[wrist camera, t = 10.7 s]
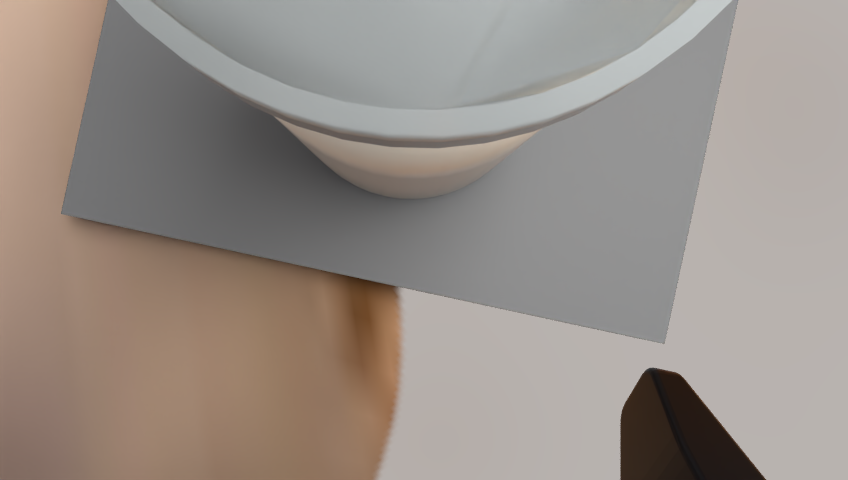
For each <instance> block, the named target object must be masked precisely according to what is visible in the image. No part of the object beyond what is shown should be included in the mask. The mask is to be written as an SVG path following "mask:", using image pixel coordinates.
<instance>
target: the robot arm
mask: <svg viewBox="0 0 848 480" xmlns="http://www.w3.org/2000/svg"><path fill="white" fill-rule="evenodd" d="M621 480H766V479H765V478H764V477H763V475H761V473H760V472H759V471H758V469H757V468H756V467H755V465H754V464H753V463H752V462H751V461H750V460H749V458H748V457H747V456H746V455H745V453H744V452H743V451H742V449H741V448H740V447H739V446H738V444H737V443H736V442H735V441H734V440H733V438H732V437H731V436H730V435H729V434H728V432H727V431H726V430H725V428H724V427H723V426H722V425H721V423H720V422H719V421H718V420H717V419H716V417H715V416H714V415H713V414H712V412H711V411H710V410H709V409H708V407H707V406H706V405H705V404H704V403H703V401H702V400H701V399H700V398H699V396H698V395H697V394H696V393H695V391H694V390H693V389H692V388H691V386H690V385H689V384H688V383H687V382H686V380H685V379H684V378H683V377H682V376H681V375H680V374H678V373H676V372H671V371H666V370H662V369H657V368H649V369H647V370H646V371H645V372H644V373H643V374H642V376H641V378H640V379H639V381H638V382H637V384H636V386H635V388H634V389H633V391H632V393H631V394H630V396H629V398H628V399H627V401H626V402H625V405H624V407H623V410H622V414H621Z"/></svg>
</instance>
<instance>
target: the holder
mask: <svg viewBox="0 0 848 480" xmlns="http://www.w3.org/2000/svg"><path fill="white" fill-rule="evenodd" d="M737 4H738V0H732V1H731V2H730V3H729V4H728V5H727V6H726V7H725V8H724V9H723V10H722V11H721V12H720V13H719V14H718V15H717V16H716V17H715V18H714V19H713V20H711V21H710V22H709V23H708V24H707V25H706V26H705V27H704V28H703V29H702V30H701V31H700V32H699V33H698V34H697V35H696V36H695V37H694V38H693V39H691V40H690V41H689V42H687V43H686V44H685V45H683V46H682V47H681V48H679V49H678V50H676V51H675V52H674V53H672V54H671V55H670V56H668V57H667V58H666V59H664V60H663V61H662V62H660V63H659V64H657V65H656V66H655V67H653V68H652V69H651V70H649V71H648V72H646V73H645V74H644V75H642V76H641V77H639V78H638V79H636V80H635V81H633V82H632V83H630V84H629V85H628V86H626V87H625V88H623V89H622V90H620V91H619V92H617V93H615V94H614V95H612V96H610V97H608V98H606V99H605V100H603V101H601V102H599V103H597V104H595V105H594V106H592V107H590V108H588V109H586V110H585V111H583V112H581V113H579V114H577V115H575V116H572V117H570V118H567V119H565V120H562V121H559V122H557V123H554V124H552V125H549V126H547V127H544V128H542V129H541V130H540V131H538V132H537V133H536V134H535V135H533V136H532V137H531V138H530V139H529V140H527V141H526V142H525V143H524V144H522V145H521V146H520V147H519V148H517V149H516V150H515V151H514V152H512V153H511V154H510V155H509V156H507V157H506V158H505V159H504V160H502V161H501V162H500V163H499V164H498V165H496V166H495V167H494V168H493V169H491V170H490V171H489V172H487V173H486V174H485V175H483V176H482V177H481V178H479V179H478V180H476V181H474V182H473V183H471V184H469V185H467V186H465V187H464V188H461V189H459V190H456V191H453V192H451V193H448V194H444V195H440V196H436V197H432V198H422V199H399V198H392V197H386V196H382V195H378V194H375V193H371V192H368V191H366V190H364V189H361V188H359V187H357V186H355V185H353V184H351V183H350V182H348V181H346V180H345V179H343V178H341V177H340V176H339V175H337V174H336V173H335V172H334V171H332V170H331V169H330V168H329V167H327V166H326V165H325V164H324V163H323V162H322V161H321V160H320V159H319V158H318V157H317V156H316V155H315V154H314V153H313V152H311V151H310V150H309V149H308V148H307V147H306V146H305V145H304V144H303V143H302V142H301V141H300V140H299V139H298V138H297V137H295V136H294V135H293V134H292V133H291V132H290V131H289V130H288V129H287V128H286V127H285V126H284V125H283V124H282V123H281V122H279V121H278V120H277V119H276V118H275V117H274V116H273V115H270V114H268V113H266V112H263V111H261V110H259V109H257V108H254V107H252V106H250V105H249V104H247V103H246V102H244V101H242V100H241V99H239V98H237V97H236V96H234V95H232V94H231V93H229V92H227V91H226V90H224V89H222V88H221V87H219V86H217V85H216V84H214V83H213V82H211V81H209V80H208V79H207V78H206V77H204V76H203V75H202V74H201V73H199V72H198V71H197V70H196V69H194V68H193V67H192V66H191V65H189V64H188V63H187V62H186V61H184V60H183V59H182V58H181V57H179V56H178V55H177V54H176V53H174V52H173V51H172V50H171V49H170V48H168V47H167V46H166V45H165V44H163V43H162V42H161V41H160V40H158V39H157V38H156V37H155V36H153V35H152V34H151V33H150V32H149V31H147V30H146V29H145V28H144V27H142V26H141V25H140V24H139V23H137V22H136V21H135V20H134V19H133V17H132V16H131V15H130V14H129V13H128V12H127V11H126V10H125V9H124V8H123V7H122V6H121V5H120V4H119V3H118V2H117V1H116V0H108V4H107V8H106V13H105V17H104V22H103V26H102V31H101V35H100V40H99V44H98V49H97V53H96V58H95V62H94V67H93V71H92V76H91V80H90V85H89V90H88V94H87V99H86V103H85V108H84V112H83V117H82V121H81V126H80V130H79V135H78V139H77V144H76V148H75V153H74V157H73V162H72V166H71V171H70V175H69V180H68V184H67V189H66V193H65V198H64V202H63V207H62V212H61V214H64V215H68V216H73V217H78V218H82V219H87V220H92V221H96V222H101V223H105V224H110V225H115V226H119V227H124V228H129V229H133V230H138V231H143V232H147V233H152V234H157V235H161V236H166V237H170V238H175V239H180V240H184V241H189V242H194V243H198V244H203V245H208V246H212V247H217V248H222V249H226V250H231V251H235V252H240V253H245V254H249V255H254V256H259V257H263V258H268V259H273V260H277V261H282V262H286V263H291V264H296V265H300V266H305V267H310V268H314V269H319V270H324V271H328V272H333V273H338V274H342V275H347V276H351V277H356V278H361V279H365V280H370V281H375V282H379V283H384V284H389V285H393V286H398V287H403V288H407V289H412V290H416V291H421V292H426V293H430V294H435V295H440V296H444V297H450V298H454V299H458V300H463V301H468V302H472V303H477V304H482V305H486V306H491V307H495V308H500V309H505V310H509V311H514V312H519V313H523V314H528V315H532V316H537V317H542V318H546V319H551V320H556V321H561V322H565V323H570V324H574V325H579V326H584V327H588V328H593V329H597V330H603V331H607V332H612V333H616V334H621V335H625V336H630V337H635V338H639V339H644V340H649V341H653V342H658V343H663V344H664V343H665V339H666V334H667V330H668V325H669V320H670V316H671V311H672V306H673V301H674V297H675V292H676V288H677V283H678V278H679V274H680V269H681V264H682V260H683V255H684V250H685V246H686V241H687V236H688V232H689V227H690V223H691V218H692V213H693V208H694V203H695V199H696V195H697V190H698V185H699V180H700V175H701V171H702V166H703V162H704V157H705V152H706V148H707V143H708V139H709V133H710V129H711V125H712V120H713V115H714V110H715V105H716V101H717V97H718V92H719V87H720V83H721V78H722V73H723V69H724V64H725V59H726V54H727V50H728V46H729V40H730V36H731V31H732V27H733V22H734V18H735V12H736V8H737Z"/></svg>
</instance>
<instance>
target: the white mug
mask: <svg viewBox="0 0 848 480" xmlns="http://www.w3.org/2000/svg"><path fill="white" fill-rule="evenodd" d="M116 1H117V2H118V3H119V4H120V5H121V6H122V7H123V8H124V9H125V10H126V11H127V12H128V13H129V14H130V15H131V16H132V17H133V19H134V20H135V21H136V22H137V23H139V24H140V25H141V26H142V27H144V28H145V29H146V30H147V31H149V32H150V33H151V34H152V35H153V36H155V37H156V38H157V39H158V40H160V41H161V42H162V43H163V44H165V45H166V46H167V47H168V48H170V49H171V50H172V51H173V52H174V53H176V54H177V55H178V56H179V57H181V58H182V59H183V60H184V61H186V62H187V63H188V64H189V65H191V66H192V67H193V68H194V69H196V70H197V71H198V72H199V73H201V74H202V75H203V76H204V77H206V78H207V79H208V80H209V81H211V82H213V83H214V84H216V85H217V86H219V87H221V88H222V89H224V90H226V91H227V92H229V93H231V94H232V95H234V96H236V97H237V98H239V99H241V100H242V101H244V102H246V103H247V104H249V105H250V106H252V107H254V108H257V109H259V110H261V111H263V112H266V113H268V114H270V115H273V116H274V117H275V118H276V119H277V120H278V121H279V122H281V123H282V124H283V125H284V126H285V127H286V128H287V129H288V130H289V131H290V132H291V133H292V134H293V135H294V136H295V137H297V138H298V139H299V140H300V141H301V142H302V143H303V144H304V145H305V146H306V147H307V148H308V149H309V150H310V151H311V152H313V153H314V154H315V155H316V156H317V157H318V158H319V159H320V160H321V161H322V162H323V163H324V164H325V165H326V166H327V167H329V168H330V169H331V170H332V171H334V172H335V173H336V174H337V175H339V176H340V177H341V178H343V179H345V180H346V181H348V182H350V183H351V184H353V185H355V186H357V187H359V188H361V189H364V190H366V191H368V192H371V193H375V194H378V195H382V196H386V197H392V198H399V199H422V198H432V197H436V196H440V195H444V194H448V193H451V192H453V191H456V190H459V189H461V188H464V187H465V186H467V185H469V184H471V183H473V182H474V181H476V180H478V179H479V178H481V177H482V176H483V175H485V174H486V173H487V172H489V171H490V170H491V169H493V168H494V167H495V166H496V165H498V164H499V163H500V162H501V161H502V160H504V159H505V158H506V157H507V156H509V155H510V154H511V153H512V152H514V151H515V150H516V149H517V148H519V147H520V146H521V145H522V144H524V143H525V142H526V141H527V140H529V139H530V138H531V137H532V136H533V135H535V134H536V133H537V132H538V131H540V130H541V129H542V128H544V127H547V126H549V125H552V124H554V123H557V122H559V121H562V120H565V119H567V118H570V117H572V116H575V115H577V114H579V113H581V112H583V111H585V110H586V109H588V108H590V107H592V106H594V105H595V104H597V103H599V102H601V101H603V100H605V99H606V98H608V97H610V96H612V95H614V94H615V93H617V92H619V91H620V90H622V89H623V88H625V87H626V86H628V85H629V84H630V83H632V82H633V81H635V80H636V79H638V78H639V77H641V76H642V75H644V74H645V73H646V72H648V71H649V70H651V69H652V68H653V67H655V66H656V65H657V64H659V63H660V62H662V61H663V60H664V59H666V58H667V57H668V56H670V55H671V54H672V53H674V52H675V51H676V50H678V49H679V48H681V47H682V46H683V45H685V44H686V43H687V42H689V41H690V40H691V39H693V38H694V37H695V36H696V35H697V34H698V33H699V32H700V31H701V30H702V29H703V28H704V27H705V26H706V25H707V24H708V23H709V22H710V21H711V20H713V19H714V18H715V17H716V16H717V15H718V14H719V13H720V12H721V11H722V10H723V9H724V8H725V7H726V6H727V5H728V4H729V3H730V2H731V1H732V0H116Z"/></svg>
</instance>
